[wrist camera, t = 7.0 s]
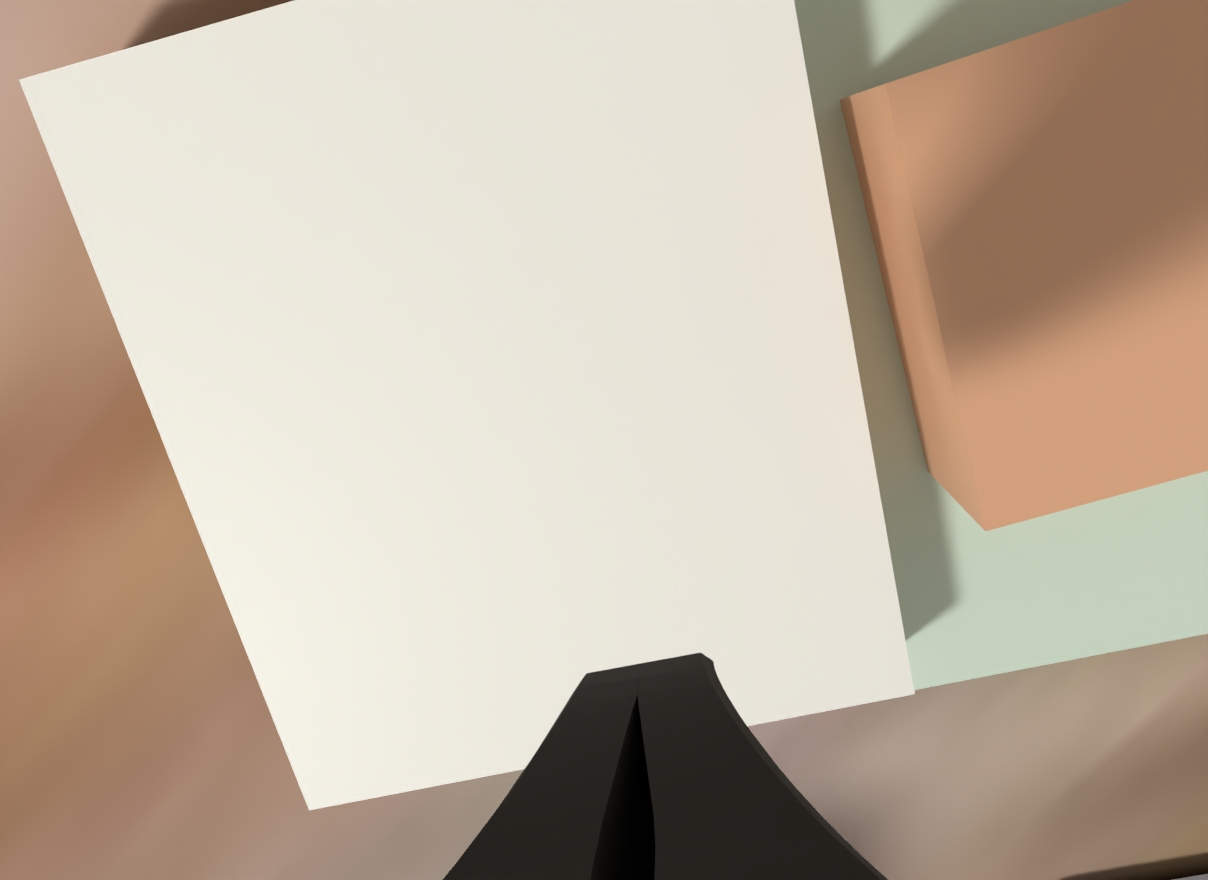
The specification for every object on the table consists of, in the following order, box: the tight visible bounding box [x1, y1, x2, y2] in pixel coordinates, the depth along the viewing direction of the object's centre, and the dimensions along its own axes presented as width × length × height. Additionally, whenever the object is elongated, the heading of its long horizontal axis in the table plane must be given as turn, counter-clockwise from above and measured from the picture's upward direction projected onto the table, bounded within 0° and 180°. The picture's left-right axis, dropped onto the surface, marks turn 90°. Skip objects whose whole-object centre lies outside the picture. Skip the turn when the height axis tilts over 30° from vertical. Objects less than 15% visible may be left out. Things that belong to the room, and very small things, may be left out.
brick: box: [840, 0, 1208, 531], centre depth 15 cm, size 6×7×3 cm
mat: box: [794, 0, 1208, 690], centre depth 16 cm, size 13×16×1 cm
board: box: [19, 0, 915, 810], centre depth 17 cm, size 12×14×2 cm
